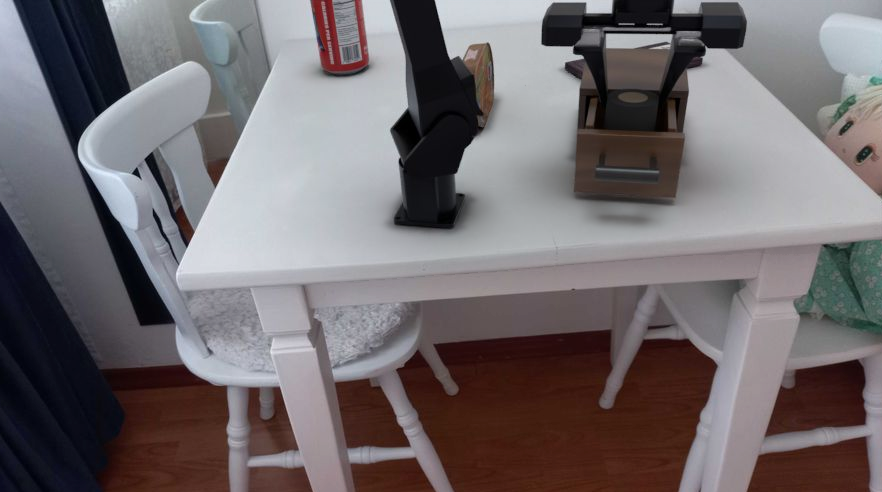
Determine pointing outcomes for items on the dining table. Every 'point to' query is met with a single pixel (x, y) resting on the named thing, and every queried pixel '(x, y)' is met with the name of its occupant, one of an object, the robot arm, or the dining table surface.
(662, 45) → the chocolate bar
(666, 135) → the drawer
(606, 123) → the tape
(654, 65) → the cabinet
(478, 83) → the tin
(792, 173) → the dining table surface
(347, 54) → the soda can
